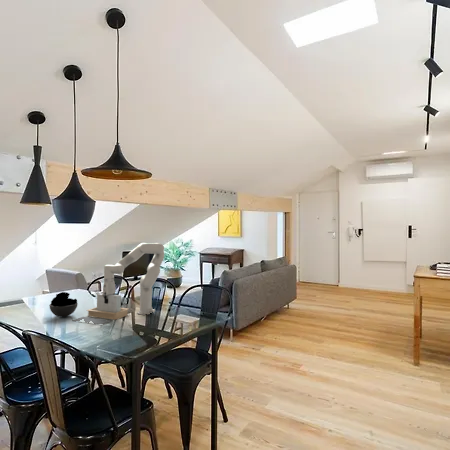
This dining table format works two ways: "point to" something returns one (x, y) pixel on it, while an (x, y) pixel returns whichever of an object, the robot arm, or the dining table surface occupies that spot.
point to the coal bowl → (63, 305)
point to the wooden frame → (107, 313)
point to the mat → (93, 320)
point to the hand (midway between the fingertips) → (108, 302)
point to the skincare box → (109, 303)
